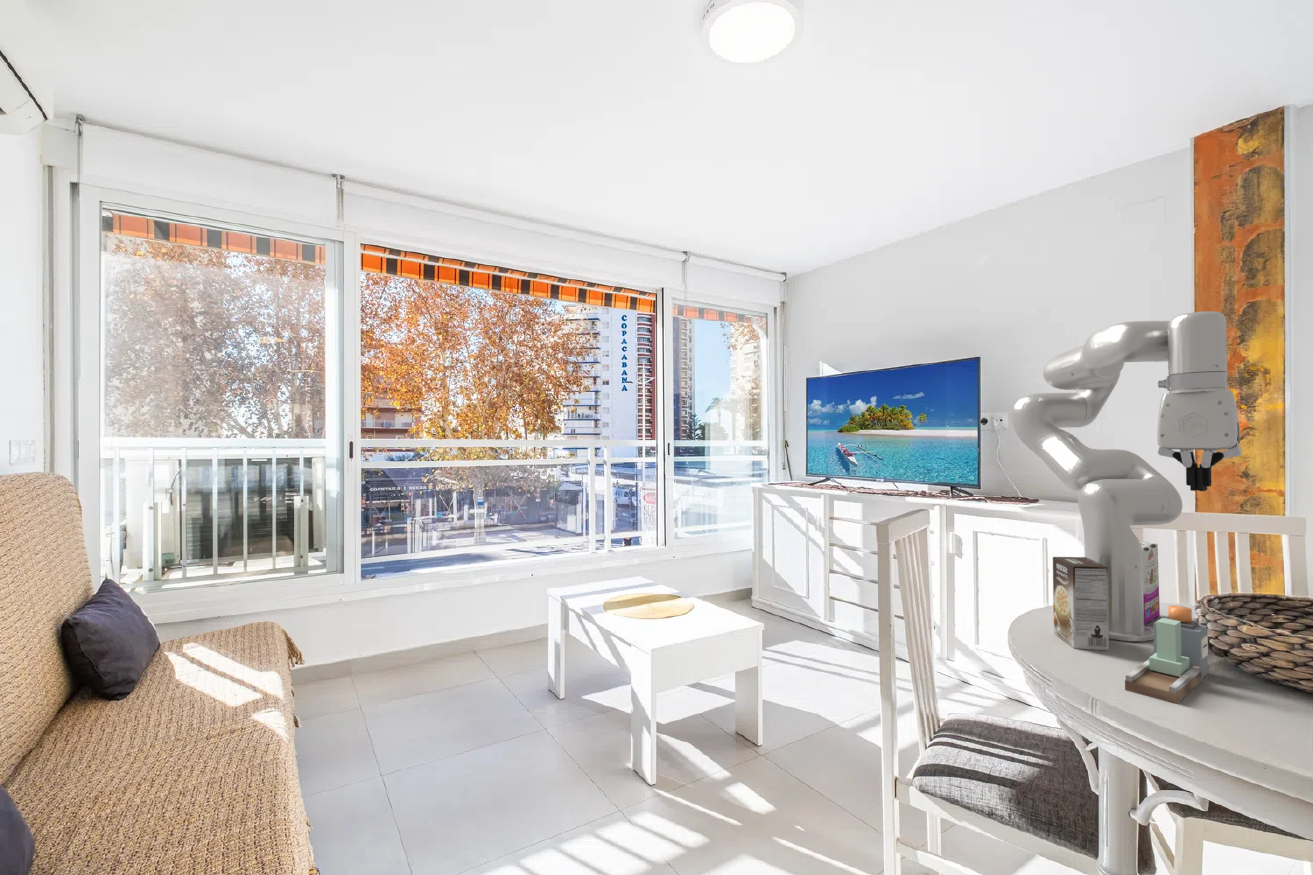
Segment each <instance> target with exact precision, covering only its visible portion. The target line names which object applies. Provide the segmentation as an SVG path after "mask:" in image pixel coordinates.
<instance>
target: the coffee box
mask: <svg viewBox="0 0 1313 875" xmlns="http://www.w3.org/2000/svg"><path fill="white" fill-rule="evenodd" d="M1052 596H1053V597H1052V599H1053V606H1052V607H1053V609H1052V610H1053V634H1054V635H1055V636H1057V637H1058V638H1060V639H1061V640H1062V641H1064V643H1066V644H1067V645H1069V646H1070V647H1071V648H1073V649H1079V650H1095V651H1096V650H1098V651H1099V650H1100V651H1109V650H1110V643H1109V642H1110V639H1109V594H1108V567H1107V566H1105V565H1102V564H1100V563H1098V562H1096V561H1093V560H1091V559H1089V558H1087V557H1085V556H1079V557H1078V556H1052Z"/></svg>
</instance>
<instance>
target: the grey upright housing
mask: <svg viewBox="0 0 1313 875" xmlns="http://www.w3.org/2000/svg"><path fill="white" fill-rule="evenodd" d="M1165 618H1166V619H1169V615H1168V616H1167V617H1165ZM1153 632H1154V638H1153V654H1155V653H1156V652H1157V629H1156V621H1154V622H1153ZM1208 638H1209V637H1208V626H1207V625H1202V624H1200V622H1199V621H1197V620H1192V622H1181V656H1184V657H1188V658H1189V669H1190V668H1192V667H1193V666H1198V667H1200V672H1201V680H1203V679H1204V678H1205V677H1206V676H1207V675H1208V674H1209V642H1208V640H1209V639H1208Z"/></svg>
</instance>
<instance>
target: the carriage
mask: <svg viewBox="0 0 1313 875" xmlns="http://www.w3.org/2000/svg"><path fill="white" fill-rule="evenodd" d="M1166 618H1167V617H1162V618H1160V619H1157V620H1156V621H1155V622H1156V629H1157V652H1156V653H1155V654H1154V653H1153V654H1152V655H1151V656H1149V657H1148V659H1149V670H1153V671H1157V672H1162V673H1166V674H1170V675H1174V676H1178V677H1181V676H1182V675H1183V674H1185V673H1186V672H1187V671H1188V670H1189V658H1188V657H1184V656H1181V621H1176V620H1171V619H1166Z"/></svg>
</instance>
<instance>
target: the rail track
mask: <svg viewBox="0 0 1313 875" xmlns="http://www.w3.org/2000/svg"><path fill="white" fill-rule="evenodd" d="M1201 682H1202V679H1201V672H1200V667H1198V666H1193V667H1192V668H1190V669H1189V670H1188V671H1187V672H1186V673H1185V674H1183V675H1182V676H1181V677H1178V676H1174V675H1170V674H1166V673H1162V672H1157V671H1153V670H1149V658H1148V659H1147V660H1145V661H1144V662H1143V663H1141V664H1139V665H1138V666H1137V667H1135V668H1134V669H1132V670H1131V671H1130V672H1128V673H1127V674H1126V675H1125V679H1124V690H1125V691H1128V692H1133V693H1137V694H1141V695H1144V696H1147V697H1151V698H1155V699H1158V700H1162V701H1166V702H1168V703H1173V704H1177V705H1178V703H1180V702H1181V701H1183V700H1182V699H1184V698H1185V697H1186V696H1187V695H1188V694H1189V693H1190V692H1191V691H1193V689H1194V688H1196V686H1198V685H1199V684H1200V683H1201Z"/></svg>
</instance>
